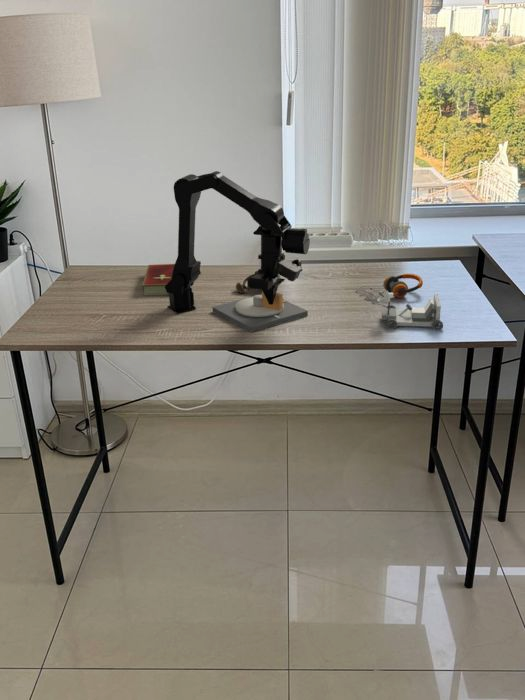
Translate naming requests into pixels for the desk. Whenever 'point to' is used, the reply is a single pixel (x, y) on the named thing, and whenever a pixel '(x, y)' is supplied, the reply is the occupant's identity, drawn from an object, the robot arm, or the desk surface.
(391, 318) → the toy car
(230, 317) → the dial board
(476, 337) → the desk surface
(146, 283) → the hardcover book
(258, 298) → the dial
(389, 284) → the headphones
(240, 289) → the brown curved looped piece
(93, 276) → the desk surface
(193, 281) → the robot arm
